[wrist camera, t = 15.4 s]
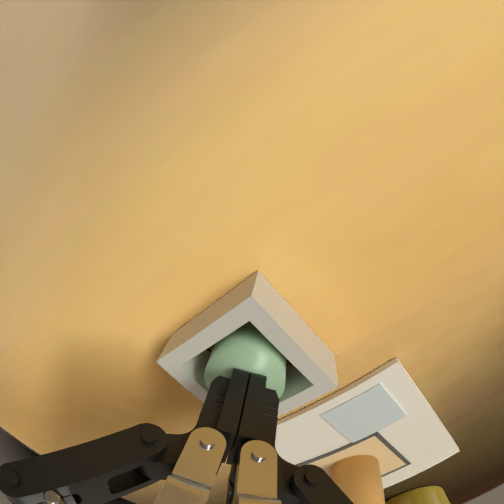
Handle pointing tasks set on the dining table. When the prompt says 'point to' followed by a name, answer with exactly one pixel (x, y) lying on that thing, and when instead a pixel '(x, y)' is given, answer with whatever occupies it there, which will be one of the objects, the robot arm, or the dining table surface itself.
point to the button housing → (270, 325)
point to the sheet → (369, 427)
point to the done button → (247, 358)
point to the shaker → (359, 479)
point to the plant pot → (421, 496)
